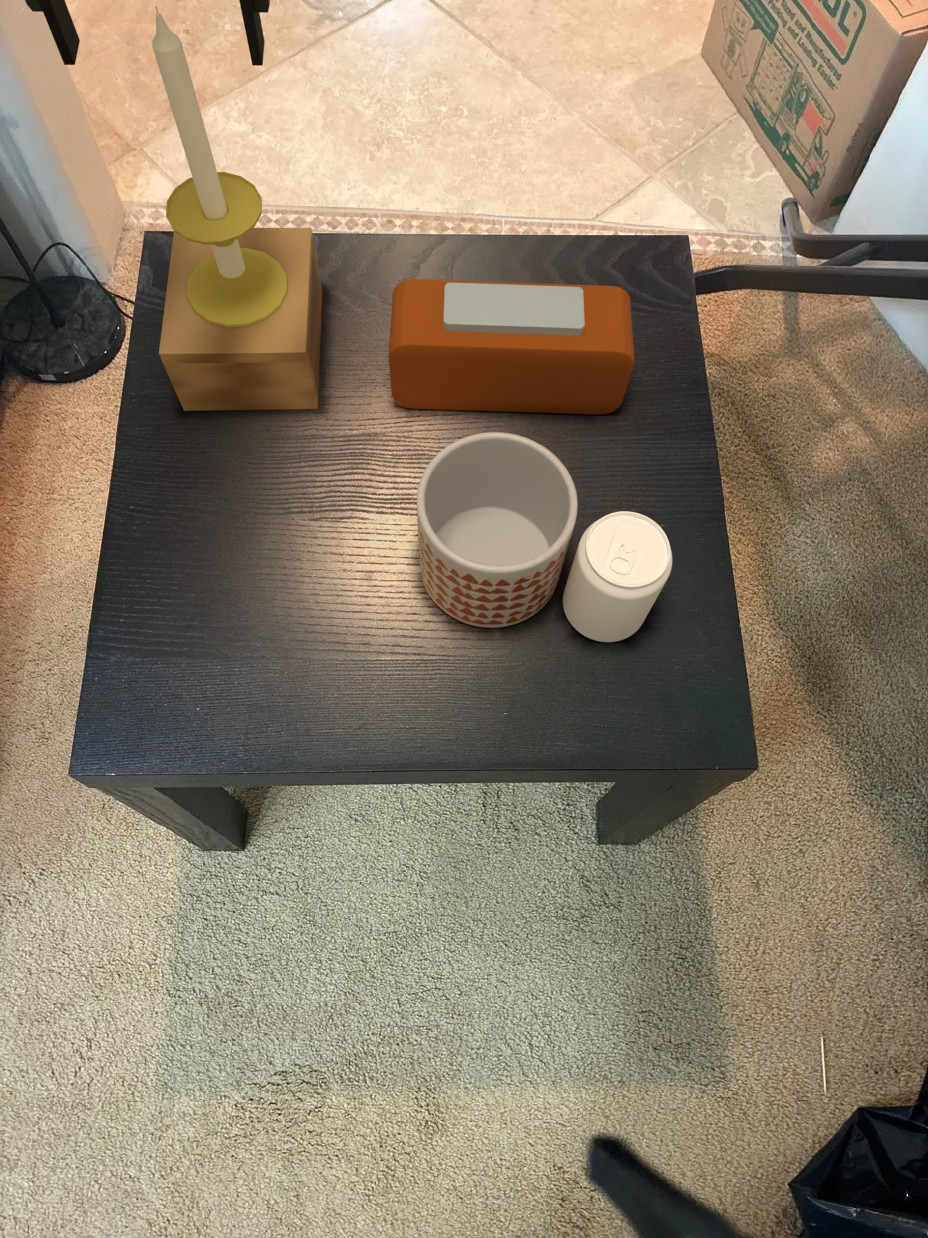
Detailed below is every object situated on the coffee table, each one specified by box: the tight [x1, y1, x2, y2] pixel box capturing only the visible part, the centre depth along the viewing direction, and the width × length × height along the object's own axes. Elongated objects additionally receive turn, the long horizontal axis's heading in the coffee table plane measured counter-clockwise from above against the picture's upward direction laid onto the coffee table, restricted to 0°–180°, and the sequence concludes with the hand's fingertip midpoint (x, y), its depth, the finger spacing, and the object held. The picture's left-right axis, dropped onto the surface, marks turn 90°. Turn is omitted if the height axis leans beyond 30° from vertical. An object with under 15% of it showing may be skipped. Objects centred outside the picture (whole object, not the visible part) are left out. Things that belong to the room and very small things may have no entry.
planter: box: [416, 431, 579, 629], centre depth 79 cm, size 14×14×13 cm
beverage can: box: [562, 510, 673, 643], centre depth 78 cm, size 8×8×12 cm
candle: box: [151, 6, 288, 328], centre depth 74 cm, size 10×10×27 cm
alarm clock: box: [388, 278, 635, 415], centre depth 89 cm, size 24×8×11 cm, turn 89°
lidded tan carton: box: [158, 227, 323, 412], centre depth 90 cm, size 14×16×9 cm
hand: (166, 53), depth 64 cm, fingers open, 13 cm apart
